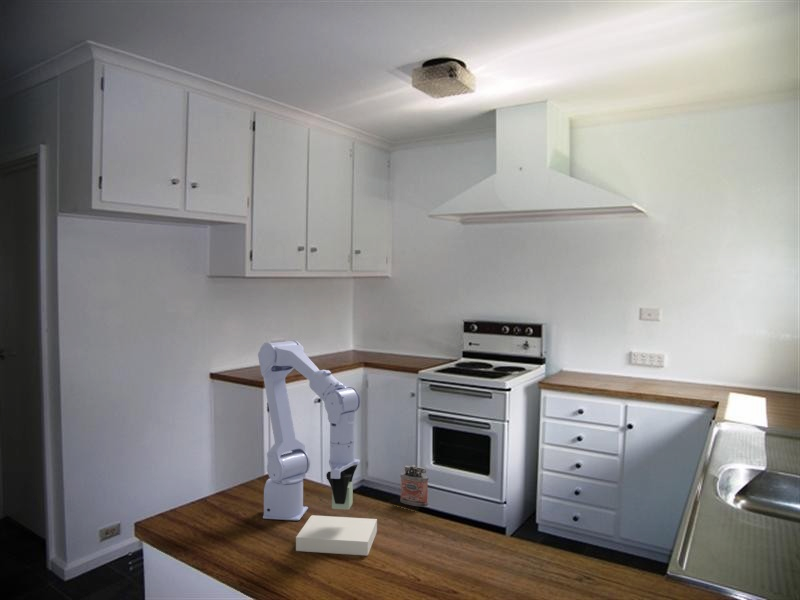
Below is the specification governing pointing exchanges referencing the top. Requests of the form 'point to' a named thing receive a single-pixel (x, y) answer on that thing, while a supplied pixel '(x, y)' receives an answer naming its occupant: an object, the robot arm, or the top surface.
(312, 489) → the top surface
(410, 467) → the lighter
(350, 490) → the green block
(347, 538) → the base plinth
